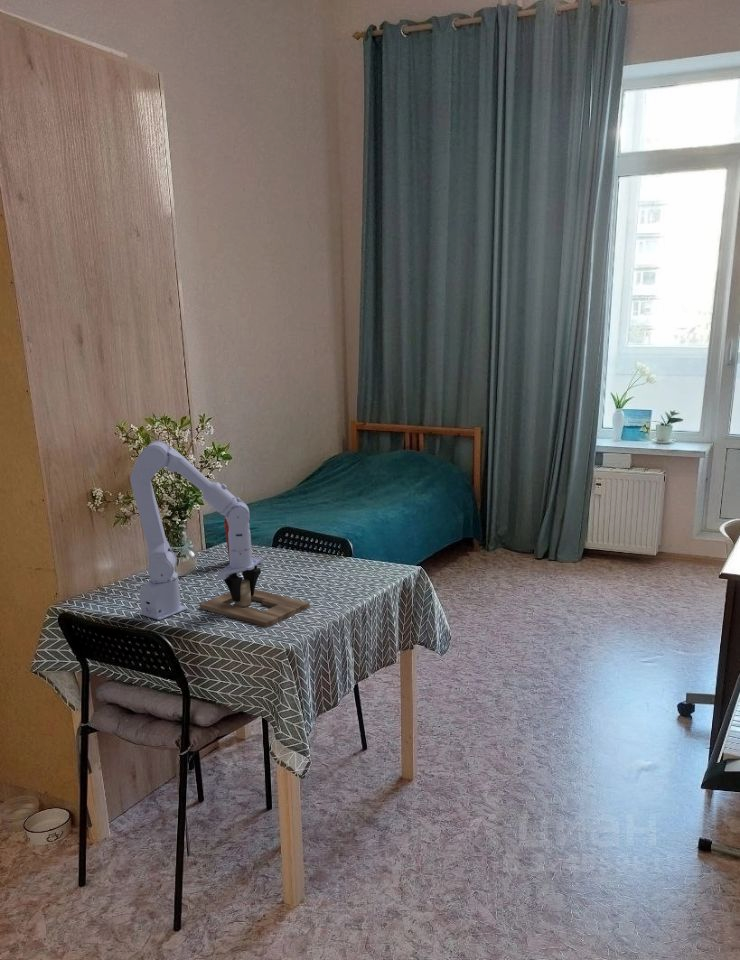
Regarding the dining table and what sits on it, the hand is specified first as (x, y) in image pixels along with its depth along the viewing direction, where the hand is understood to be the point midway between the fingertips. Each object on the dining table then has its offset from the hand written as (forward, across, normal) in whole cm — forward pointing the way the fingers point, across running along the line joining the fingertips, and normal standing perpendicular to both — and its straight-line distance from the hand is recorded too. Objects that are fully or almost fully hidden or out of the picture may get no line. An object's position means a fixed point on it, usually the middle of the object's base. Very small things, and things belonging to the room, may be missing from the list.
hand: (243, 598), depth 194 cm
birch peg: (+2, 0, 0) cm, 2 cm away
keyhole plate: (+2, 0, -4) cm, 4 cm away
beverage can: (+2, +26, +29) cm, 39 cm away
